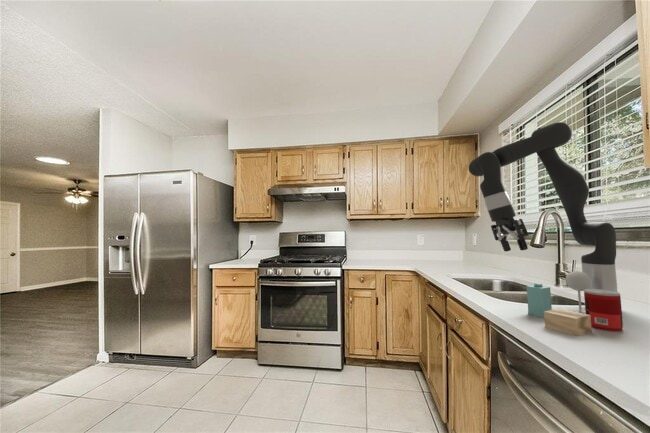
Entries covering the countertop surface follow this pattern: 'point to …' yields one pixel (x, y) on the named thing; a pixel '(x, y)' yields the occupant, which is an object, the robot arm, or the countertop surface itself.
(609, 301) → the canned food
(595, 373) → the countertop surface
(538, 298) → the teal brick
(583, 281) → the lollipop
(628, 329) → the countertop surface
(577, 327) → the wooden block
